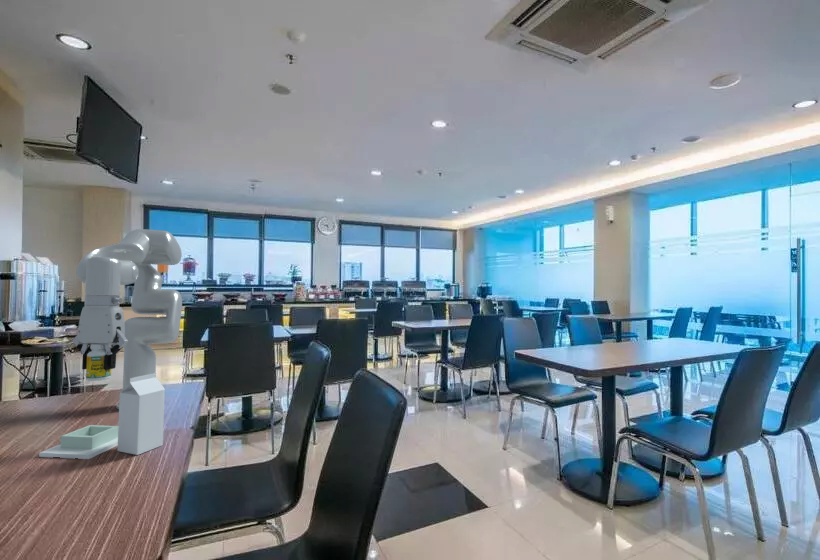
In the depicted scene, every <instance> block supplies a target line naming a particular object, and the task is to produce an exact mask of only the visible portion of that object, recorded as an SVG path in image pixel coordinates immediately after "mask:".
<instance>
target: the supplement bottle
mask: <svg viewBox="0 0 820 560" xmlns="http://www.w3.org/2000/svg"><path fill="white" fill-rule="evenodd" d="M90 349H91V350H92V351H91V352H89V353H88V354H87V367H86V369H85V370H86V371H85V374H86V375H85V380H86V381H88V382H94V381H95V382H97V381H98V382H99V381H105V380H110V379H111V377H112V369H109V370H104V356H105V355H107V352H106V348H105V345H104V344H91V346H90Z"/></svg>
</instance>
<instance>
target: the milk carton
mask: <svg viewBox="0 0 820 560" xmlns="http://www.w3.org/2000/svg"><path fill="white" fill-rule="evenodd" d="M165 391H166V389H165V387H164V385H163V384H162V383H161V382H160V380H159V379H158V378H157V373H156V372H155V373H154V374H149V375H144V376H139V377H134V378H130V383H129V384H128V385H127V386H126V387H125V388H124V389H123V388H122V390H121V391H120V392H119V402H118V403H119V409H118V423H117V424H118V425H117V426H118V445H117V449H116V450H117V452H121V453H125V454H130V455H135V456H139V455H140V454H144V453H146V452H149V451H152V450H154V449H156V448H160V447H162V446H163V444H164V422H165V421H164V418H165V417H164V416H165V395H166V394H165V393H166V392H165Z"/></svg>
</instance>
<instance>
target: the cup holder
mask: <svg viewBox="0 0 820 560" xmlns="http://www.w3.org/2000/svg"><path fill="white" fill-rule="evenodd" d="M115 447H118V425H98V424H97V425H96V424H89V425H86V426H84V427H81V428H78V429H76V430H74V431H71V432H68V433H65V434H63V435H60V443H59V444H57V445H55V446H52V447H50V448H47V449H46V450H43V451H40V452H39V453H38V457H39V458H53V457H60V458H59V459H75V458H78V459H77V460H79V459H80V460H90V459H92V458H94V457H97V456H98V455H100V454H103V453H104V452H107V451H109V450H111V449H114V448H115Z"/></svg>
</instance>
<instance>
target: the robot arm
mask: <svg viewBox="0 0 820 560" xmlns="http://www.w3.org/2000/svg"><path fill="white" fill-rule="evenodd" d="M182 257H183V256H182V249H181V246H180V244H179V242H178V241H177V239H176V237H175V236H174V235H173V234H172V233H171V232H169V231H167V230H159V229H146V228H145V229H144V228H139V229H133V230H131V231H129V232H128V233H127V234H126V235H125V236H124V237H123V238H122V239H121V240H120V241H119V243H114V244H110V245H106V246H102V247H98V248H94V249H93V250H91V251H89V252H87V253H86V254H85V255H84V256H83V257H82V258H81V259H80V260H79V262H78V263H77V266H76V276H77V279H78V280H79V281H80V282H81V283H83V284H85V287H84V288H85V290H84V306H83V307H82V308H81V309H82V310H81V312H80V316H79V321H78V329H77V335H76V336H75V337H74V338H72V343H73V344H74V345H75V346H76V347H77V349H78V350H79V352H80V355H82V365H81V369H82V370H86V367H87V354H88V353H89V352H91V351H92V350H91V349H90V346H91V344H104V345H105V348H106V352H107V355H105V356H104V370H109V369H111V370H113V369H115V368H116V365H117V364H116V363H117V362H116V361H117V354H119V353H120V351H121V350H122V349H123V369H122V370H123V371H122V390H123V389H124V388H125V387H126V386H127V385H128V384H129V383H130V378H134V377H139V376H144V375H149V374H154V373H156V364H157V363H156V362H157V357H156V356H157V355H156V352H155V351H154V349H153V348H152V347H151V346H150V345H149V344H171V343H175V342H176V341H177V340H178V337H179V335H180V327H181V320H182V319H181V318H182V311H183V310H182V309H183V297H182V295H181V293H180V291H178V290H177V289H169V288H168V289H167V288H166V289H165V288H164V289H162V283H163V277H162V275H161V274H160V272H159V271H158V270H157V269H156V268H154V267H153V266H152V265H156V266H157V265H158V266H159V265H160V266H162V265H163V266H175V265H177V264H179V263H180V262H181V261H182ZM133 283H134V286H133V291H132V300H131V310H132V312H133V313H134V314H136V315H137V314H138V315H149V316H137V317H136V316H135V317H129V318H128V319H126V320H125V315H124V311H123V307H121V306H120V304H121V303H123V299H122V298H121V297H120V295H121V294H120V293H121V292H120V291H121V286H128V285H131V284H133ZM150 315H154V316H150ZM155 315H156V316H155ZM158 315H161V316H158ZM162 315H165V316H162ZM115 408H116V409H117V410H119V402H118V403H117V404H116V407H115Z"/></svg>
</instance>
